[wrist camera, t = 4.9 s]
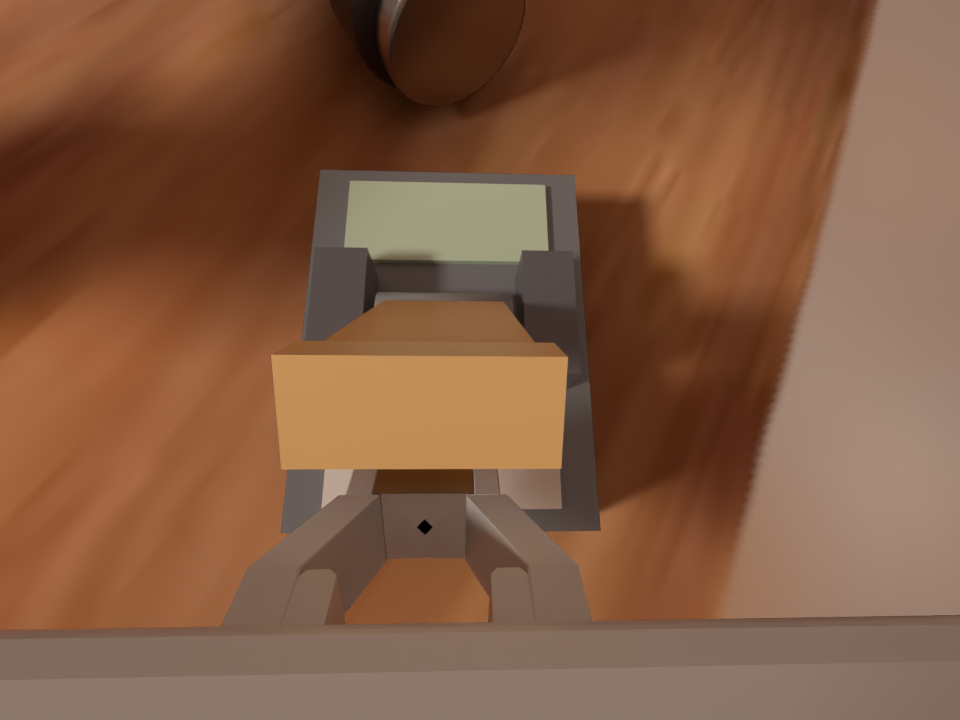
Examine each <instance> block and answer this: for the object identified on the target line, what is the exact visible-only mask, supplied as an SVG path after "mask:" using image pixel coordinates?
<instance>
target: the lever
mask: <svg viewBox="0 0 960 720" xmlns="http://www.w3.org/2000/svg"><path fill="white" fill-rule="evenodd" d="M271 358H272V369H273V380H274V392H275V403H276V414H277V426H278V437H279V448H280V460H281V469H561V465H562V449H563V432H564V416H565V399H566V383H567V366H568V356H567V355H566V354H565V353H564V352H563V351H562V350H561V349H560V348H559V347H558V346H557V345H556V344H555V343H535V342H534V340H533V339H532V338H531V337H530V335H529V334H528V333H527V331H526V330H525V329H524V328H523V326H522V325H521V324H520V322H519V321H518V320H517V319H516V317H515V316H514V310H513V297H512V294H492V293H412V292H377V294H376V297H375V303H374V307H373V308H372V309H370V310H369V311H367V312H366V313H364V314H363V315H361V316H360V317H358V318H357V319H355V320H354V321H352V322H351V323H350V324H348V325H347V326H345V327H344V328H342V329H341V330H339V331H338V332H336V333H335V334H333V335H332V336H330V337H329V338H327V339H326V340H324V341H295V342H293V343H291V344H290V345H288V346H286V347H284V348H283V349H281V350H279V351H277V352H275V353H274V354H272V355H271Z"/></svg>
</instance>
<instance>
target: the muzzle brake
mask: <svg viewBox="0 0 960 720" xmlns="http://www.w3.org/2000/svg"><path fill="white" fill-rule="evenodd" d="M330 3H331V6H332V8H333V11H334V13H335V15H336V17H337V18H338V20H339V22H340V23H341V25H342V27H343V28H344V30H345V32H346V33H347V35H348V36H349V38H350V40H351V41H352V43H353V44H354V46H355V48H356V49H357V51H358V53H359V54H360V56H361V57H362V59H363V61H364V62H365V64H366V66H367V67H368V68H369V69H370V70H371V71H372V72H373V73H374V74H375V75H376V76H377V78H379V79H380V80H382V81H383V82H385V83H387V84H388V85H390V86H392V87H395V88H398V89H399V90H400V91H401V92H402V93H403V94H404V95H405V96H406V97H408V98H409V99H411V100H413V101H414V102H417V103H420V104H423V105H426V106H444V105H450V104H453V103H456V102H459V101H461V100H463V99H465V98H467V97H469V96H471V95H472V94H474V93H475V92H476V91H478V90H479V89H481V88H482V87H483V86H484V85H485V84H486V83H487V82H488V81H489V80H491V78H492V77H493V76H494V75H495V74H496V73H497V72H498V70H499V69H500V68H501V67H502V65H503V64H504V62H505V61H506V59H507V58H508V56H509V55H510V53H511V51H512V49H513V47H514V45H515V43H516V41H517V38H518V35H519V33H520V30H521V27H522V22H523V18H524V13H525V0H330Z"/></svg>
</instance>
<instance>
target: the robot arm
mask: <svg viewBox="0 0 960 720" xmlns="http://www.w3.org/2000/svg"><path fill="white" fill-rule="evenodd" d="M424 557H429V558H465V560H466V562H467V563H468V565H469V566H470V568H471V570H472V571H473V573H474V574H475V576H476V577H477V579H478V580H479V582H480V584H481V585H482V587H483V588H484V590H485V591H486V593H487V595H488V596H489V598H490V600H489V616H488V622H480V623H415V624H351V625H345V620H344V614H345V613H346V612H347V610H348V609H349V608H350V607H351V605H352V604H353V603H354V602H355V600H356V599H357V598H358V597H359V595H360V594H361V593H362V591H363V590H364V589H365V588H366V586H367V585H368V584H369V583H370V581H371V580H372V579H373V577H374V576H375V575H376V574H377V572H378V571H379V570H380V569H381V567H382V566H383V565H384V564H385V562H386V559H398V558H424ZM0 720H960V615H940V616H939V615H938V616H937V615H935V616H873V617H872V616H871V617H806V618H743V619H677V620H613V621H592V619H591V615H590V611H589V607H588V603H587V599H586V595H585V591H584V587H583V583H582V579H581V575H580V571H579V567H578V565H577V564H576V563H575V562H574V561H573V560H572V559H571V558H570V557H569V556H568V555H567V554H566V553H565V552H564V551H563V550H562V549H561V548H560V547H559V546H558V545H557V544H556V543H555V542H554V541H553V540H552V539H551V538H550V537H549V536H548V535H547V534H546V533H545V532H544V531H543V530H542V529H541V528H540V527H539V526H538V525H537V524H536V523H535V522H534V521H533V520H532V519H531V518H530V517H529V516H528V515H527V514H526V513H525V512H524V511H523V510H522V509H521V508H520V507H519V506H518V505H517V504H516V503H515V502H514V501H513V500H512V499H511V498H510V497H509V496H508V495H507V494H500V486H499V476H498V469H353V471H352V475H351V478H350V481H349V485H348V488H347V491H346V495H338V496H337V497H336V498H334V499H333V500H332V501H331V502H329V503H328V504H327V505H326V506H324V507H323V508H322V509H321V510H319V511H318V512H317V513H316V514H314V515H313V516H312V517H311V518H310V519H308V520H307V521H306V522H305V523H303V524H302V525H301V526H300V527H298V528H297V529H296V530H295V531H293V532H292V533H291V534H290V535H288V536H287V537H286V538H285V539H283V540H282V541H281V542H280V543H278V544H277V545H276V546H275V547H273V548H272V549H271V550H270V551H268V552H267V553H266V554H265V555H264V556H262V557H261V558H260V559H259V560H257V561H256V562H255V563H254V564H252V565H251V566H250V567H249V568H248V569H247V571H246V573H245V575H244V577H243V580H242V582H241V584H240V586H239V588H238V590H237V592H236V594H235V597H234V599H233V601H232V603H231V605H230V607H229V609H228V612H227V614H226V616H225V618H224V620H223V622H222V624H221V626H220V627H158V628H94V629H30V630H0Z"/></svg>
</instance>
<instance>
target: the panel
mask: <svg viewBox="0 0 960 720" xmlns="http://www.w3.org/2000/svg"><path fill="white" fill-rule="evenodd" d="M377 292H412V293H492V294H512V297H513V310H514V316H515V317H516V319H517V320H518V321H519V322H520V324H521V325H522V326H523V328H524V329H525V330H526V331H527V333H528V334H529V335H530V337H531V338H532V339H533V340H534V342H535V343H555V344H556V345H557V346H558V347H559V348H560V349H561V350H562V351H563V352H564V353H565V354H566V355H567V356H568V366H567V383H566V399H565V416H564V432H563V449H562V465H561V469H498V476H499V486H500V494H507V495H508V496H509V497H510V498H511V499H512V500H513V501H514V502H515V503H516V504H517V505H518V506H519V507H520V508H521V509H522V510H523V511H524V512H525V513H526V514H527V515H528V516H529V517H530V518H531V519H532V520H533V521H534V522H535V523H536V524H537V525H538V526H539V527H540V528H541V529H542V530H543V531H601V529H600V516H599V502H598V489H597V475H596V461H595V448H594V434H593V421H592V407H591V394H590V380H589V367H588V353H587V339H586V326H585V312H584V299H583V285H582V272H581V258H580V244H579V231H578V217H577V204H576V190H575V177H574V175H536V174H492V173H448V172H404V171H360V170H320V176H319V186H318V195H317V204H316V213H315V222H314V231H313V241H312V250H311V259H310V268H309V277H308V286H307V295H306V305H305V314H304V323H303V332H302V341H324V340H326V339H327V338H329V337H330V336H332V335H333V334H335V333H336V332H338V331H339V330H341V329H342V328H344V327H345V326H347V325H348V324H350V323H351V322H352V321H354V320H355V319H357V318H358V317H360V316H361V315H363V314H364V313H366V312H367V311H369V310H370V309H372V308H373V307H374V303H375V297H376V294H377ZM352 471H353V469H287V479H286V488H285V497H284V506H283V515H282V524H281V533H292V532H293V531H295V530H296V529H297V528H298V527H300V526H301V525H302V524H303V523H305V522H306V521H307V520H308V519H310V518H311V517H312V516H313V515H314V514H316V513H317V512H318V511H319V510H321V509H322V508H323V507H324V506H326V505H327V504H328V503H329V502H331V501H332V500H333V499H334V498H336V497H337V496H338V495H346V491H347V488H348V485H349V481H350V478H351V475H352Z"/></svg>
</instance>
